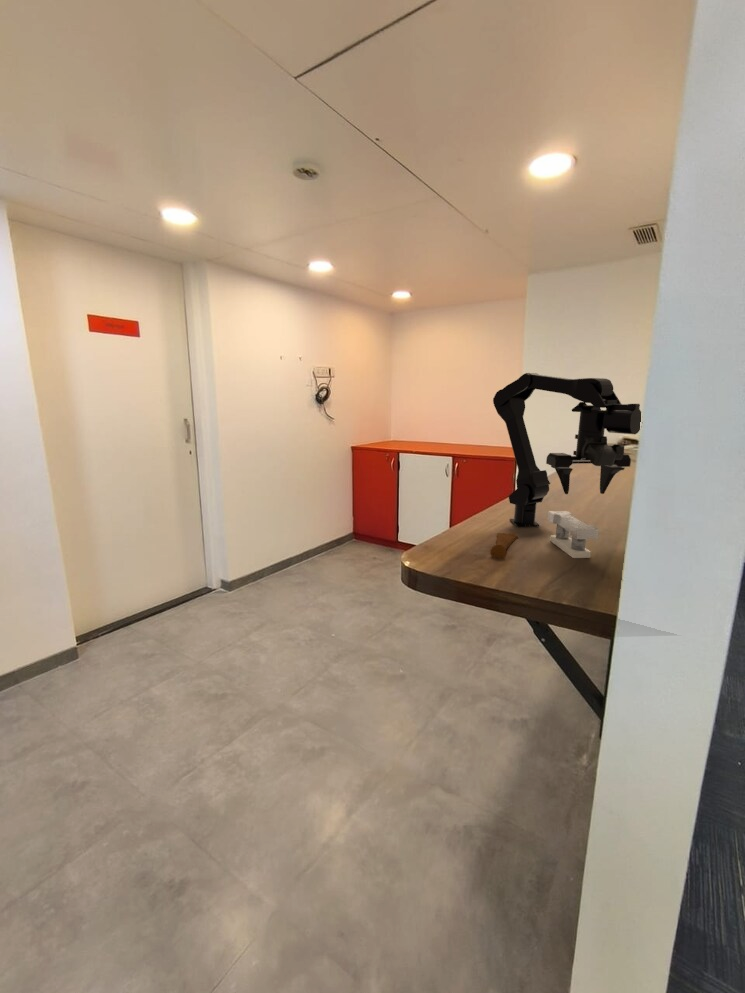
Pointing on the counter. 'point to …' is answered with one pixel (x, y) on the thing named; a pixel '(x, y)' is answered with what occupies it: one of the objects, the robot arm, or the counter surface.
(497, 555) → the primitive tool
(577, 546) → the peg rack
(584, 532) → the spanner
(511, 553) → the counter surface
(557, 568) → the counter surface
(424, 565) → the counter surface
